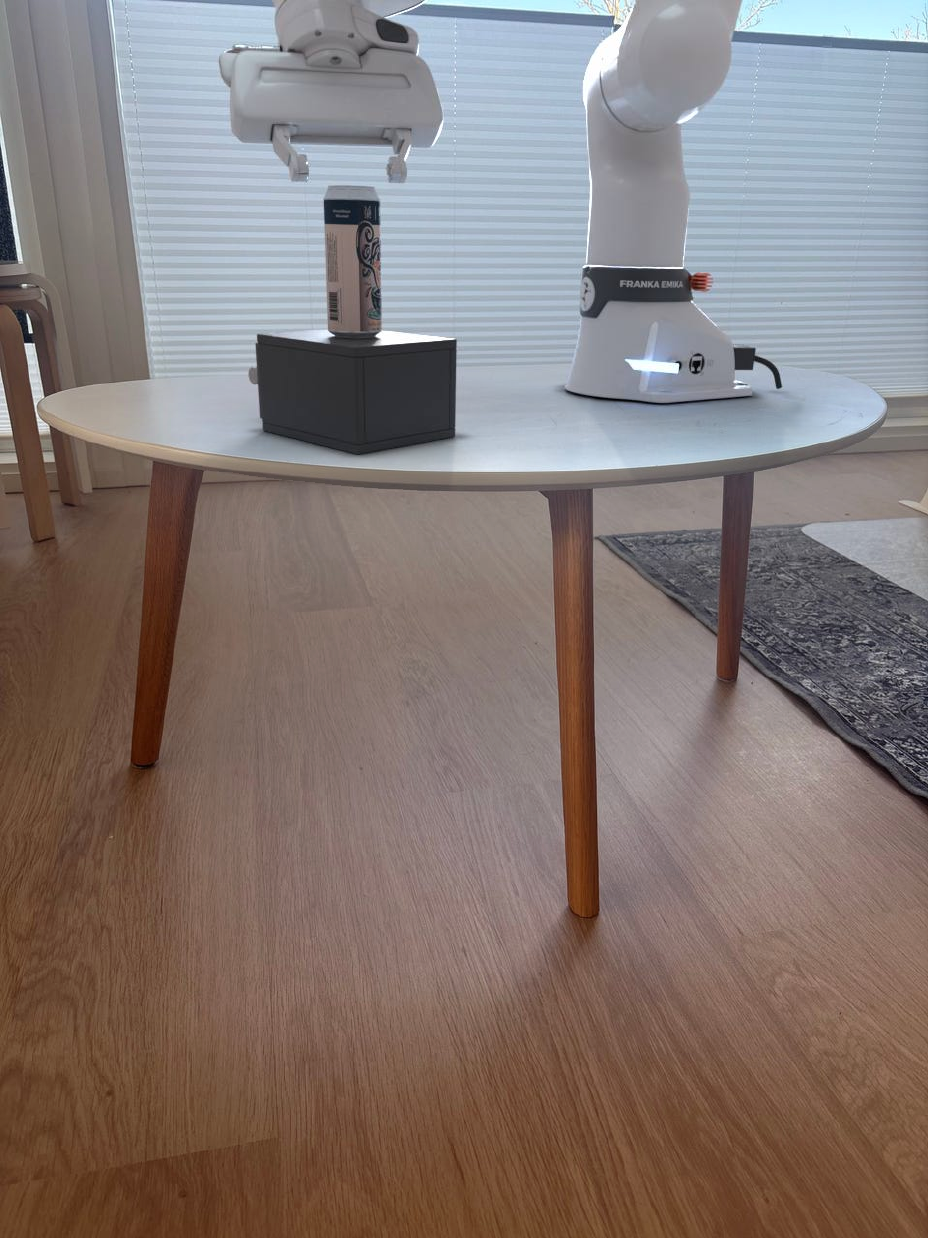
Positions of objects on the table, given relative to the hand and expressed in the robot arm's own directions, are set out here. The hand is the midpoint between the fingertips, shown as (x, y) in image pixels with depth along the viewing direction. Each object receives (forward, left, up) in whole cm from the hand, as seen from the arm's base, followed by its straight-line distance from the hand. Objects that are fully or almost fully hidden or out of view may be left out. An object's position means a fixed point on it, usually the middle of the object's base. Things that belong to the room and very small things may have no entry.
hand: (350, 178), depth 88 cm
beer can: (+2, +11, -13) cm, 18 cm away
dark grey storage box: (+2, +11, -22) cm, 25 cm away
